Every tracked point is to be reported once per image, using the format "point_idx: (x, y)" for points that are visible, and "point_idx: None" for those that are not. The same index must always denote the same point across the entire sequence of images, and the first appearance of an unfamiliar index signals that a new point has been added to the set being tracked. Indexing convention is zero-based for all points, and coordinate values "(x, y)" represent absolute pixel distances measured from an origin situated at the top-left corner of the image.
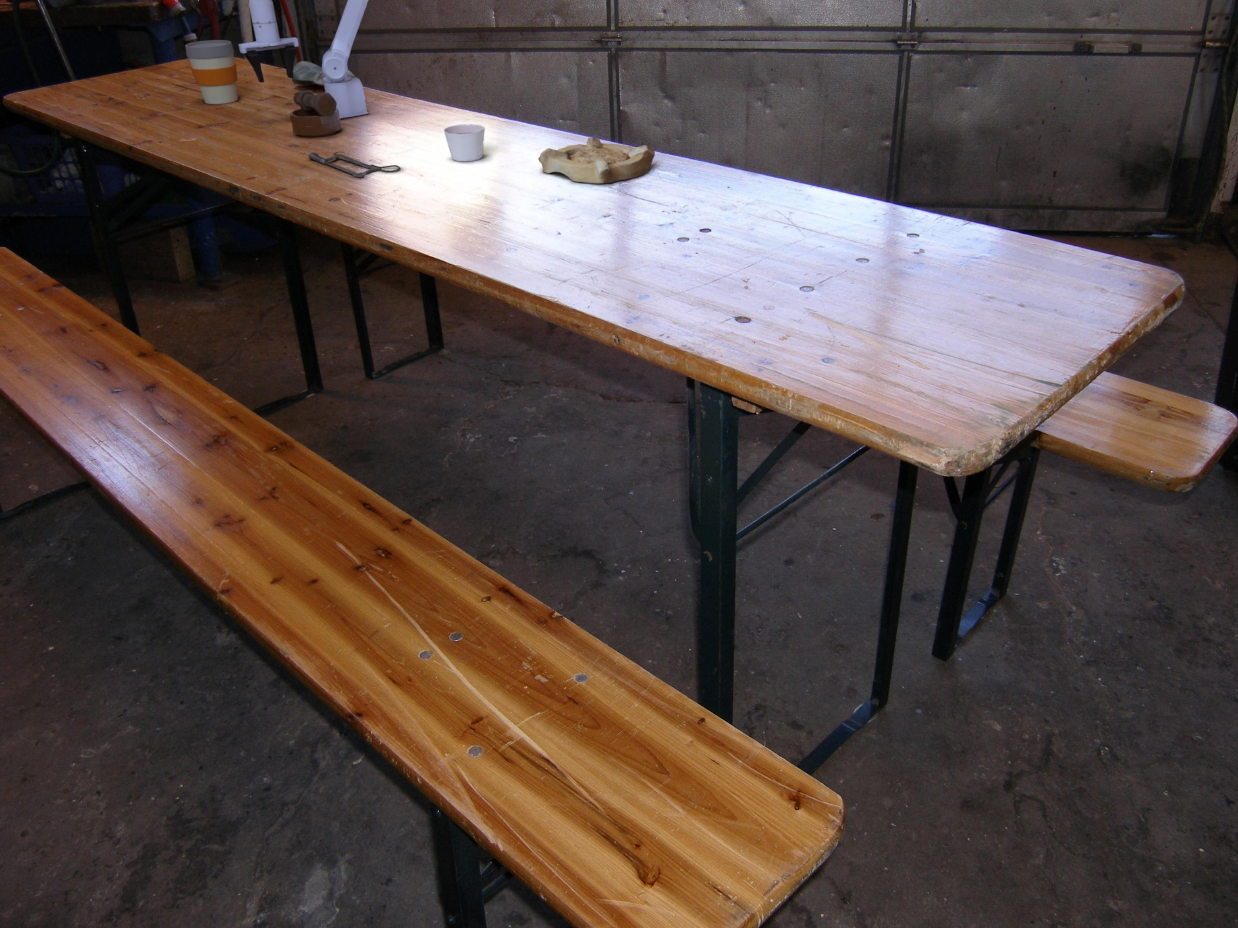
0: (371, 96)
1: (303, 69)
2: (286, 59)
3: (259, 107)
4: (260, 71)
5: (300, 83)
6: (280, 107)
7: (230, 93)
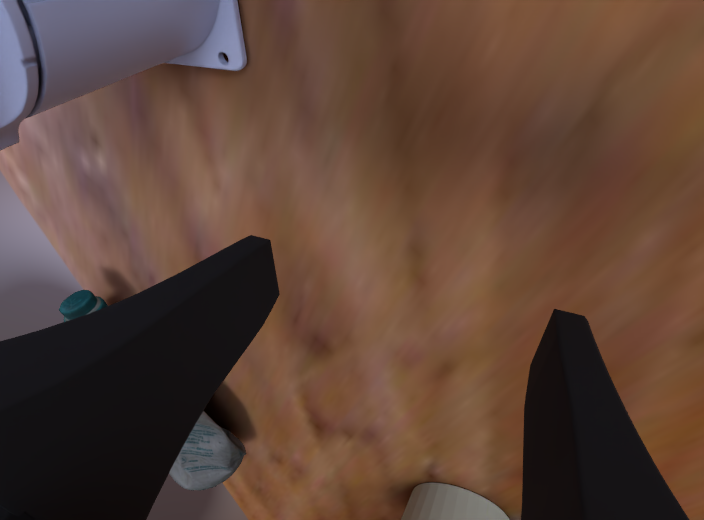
0: (61, 216)
1: (195, 463)
2: (157, 401)
3: (417, 394)
4: (593, 414)
5: (231, 439)
6: (359, 341)
7: (441, 511)
